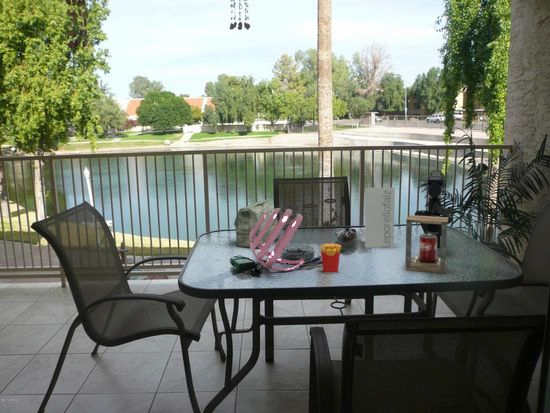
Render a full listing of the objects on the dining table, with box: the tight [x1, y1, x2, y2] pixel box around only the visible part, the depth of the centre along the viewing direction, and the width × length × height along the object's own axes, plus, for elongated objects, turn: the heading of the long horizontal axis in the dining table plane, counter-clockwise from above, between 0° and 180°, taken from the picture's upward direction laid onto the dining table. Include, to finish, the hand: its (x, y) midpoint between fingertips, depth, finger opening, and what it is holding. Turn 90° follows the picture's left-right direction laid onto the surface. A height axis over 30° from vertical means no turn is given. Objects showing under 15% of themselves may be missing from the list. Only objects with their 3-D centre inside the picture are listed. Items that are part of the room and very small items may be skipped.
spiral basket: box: [249, 207, 305, 272], centre depth 201 cm, size 28×28×27 cm
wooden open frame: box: [404, 214, 448, 275], centre depth 196 cm, size 16×16×22 cm
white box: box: [364, 187, 396, 249], centre depth 229 cm, size 14×6×30 cm, turn 76°
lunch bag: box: [233, 199, 280, 249], centre depth 245 cm, size 26×18×22 cm
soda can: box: [418, 233, 438, 264], centre depth 199 cm, size 7×7×12 cm
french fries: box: [320, 243, 342, 274], centre depth 195 cm, size 8×4×12 cm, turn 85°
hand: (433, 235), depth 209 cm, fingers open, 9 cm apart
